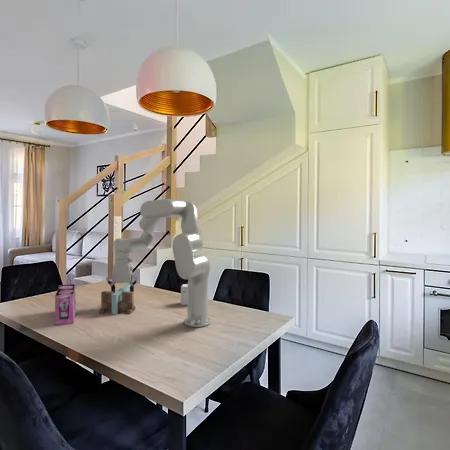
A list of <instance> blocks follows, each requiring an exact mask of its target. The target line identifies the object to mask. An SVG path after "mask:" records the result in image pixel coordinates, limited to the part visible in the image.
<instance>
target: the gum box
mask: <svg viewBox="0 0 450 450" xmlns="http://www.w3.org/2000/svg"><path fill="white" fill-rule="evenodd" d="M76 304H77V303H76V283H72V284H60V285H58V288H57V290H56V292H55V295H54V326H58V325H68V324H73V323H74V320H75V315H76V310H77V309H76V308H77V305H76Z"/></svg>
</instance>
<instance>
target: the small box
mask: <svg viewBox="0 0 450 450" xmlns="http://www.w3.org/2000/svg"><path fill="white" fill-rule="evenodd" d="M187 286H188V283H185V284H184V283H183V284H182V285H181V286H180V305H181V306H187Z"/></svg>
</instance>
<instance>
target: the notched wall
mask: <svg viewBox="0 0 450 450" xmlns="http://www.w3.org/2000/svg"><path fill="white" fill-rule="evenodd" d="M113 293H114V291H111V290H110V291H108V290H107V291H104V290H103V291H101V292H100V296H101V297H100V304H101V305H100V306H101V308H100V309H99V310H98V314H105V313H112V294H113ZM134 298H135V297H134V292H122V301H120V302H118V313H126V315H131V314H132V313H133V312H134V311H135V310H136V305H135V304H134Z"/></svg>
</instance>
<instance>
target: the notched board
mask: <svg viewBox="0 0 450 450" xmlns="http://www.w3.org/2000/svg"><path fill="white" fill-rule="evenodd" d="M130 286H131V285H130V284H125V285H123V286H122V287H121V288H119V289H117V290H115V293H113V294H112V312H111V315H118V313H119V312H118V302H120V301H122V292H130Z"/></svg>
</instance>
